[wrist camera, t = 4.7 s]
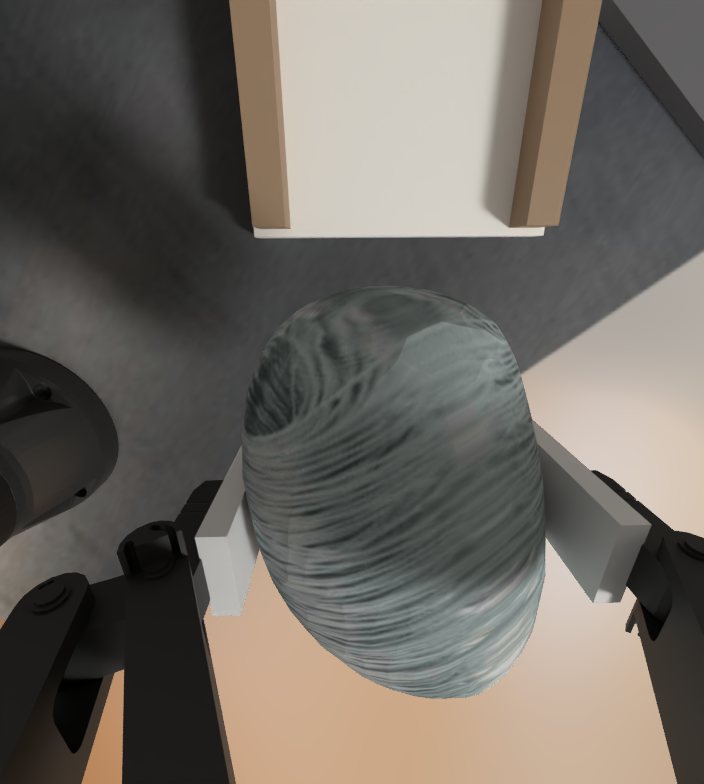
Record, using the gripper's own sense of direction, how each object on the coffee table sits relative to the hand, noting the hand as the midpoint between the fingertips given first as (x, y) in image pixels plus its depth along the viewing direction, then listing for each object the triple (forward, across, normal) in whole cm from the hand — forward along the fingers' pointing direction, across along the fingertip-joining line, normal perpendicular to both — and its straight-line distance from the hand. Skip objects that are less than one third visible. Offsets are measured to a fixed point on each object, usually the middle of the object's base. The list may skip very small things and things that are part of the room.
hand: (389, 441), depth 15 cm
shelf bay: (+15, +2, +16) cm, 23 cm away
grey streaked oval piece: (+1, 0, 0) cm, 1 cm away
